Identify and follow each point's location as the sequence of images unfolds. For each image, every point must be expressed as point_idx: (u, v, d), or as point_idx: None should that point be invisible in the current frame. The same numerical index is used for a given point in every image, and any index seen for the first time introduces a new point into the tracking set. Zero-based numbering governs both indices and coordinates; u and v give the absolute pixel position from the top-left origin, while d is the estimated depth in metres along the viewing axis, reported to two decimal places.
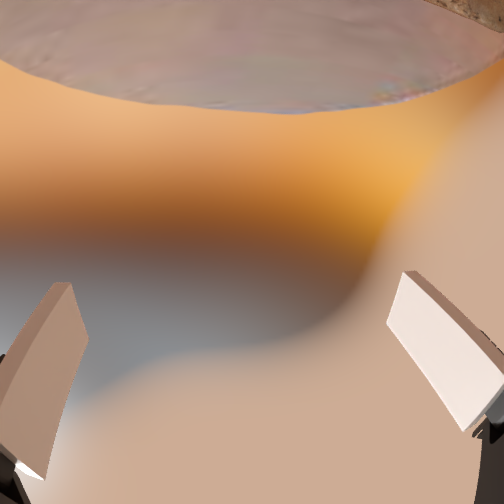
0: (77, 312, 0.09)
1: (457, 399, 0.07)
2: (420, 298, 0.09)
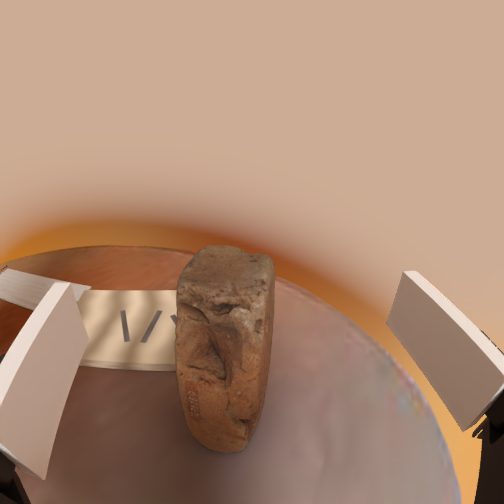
0: (77, 312, 0.09)
1: (457, 399, 0.07)
2: (420, 298, 0.09)
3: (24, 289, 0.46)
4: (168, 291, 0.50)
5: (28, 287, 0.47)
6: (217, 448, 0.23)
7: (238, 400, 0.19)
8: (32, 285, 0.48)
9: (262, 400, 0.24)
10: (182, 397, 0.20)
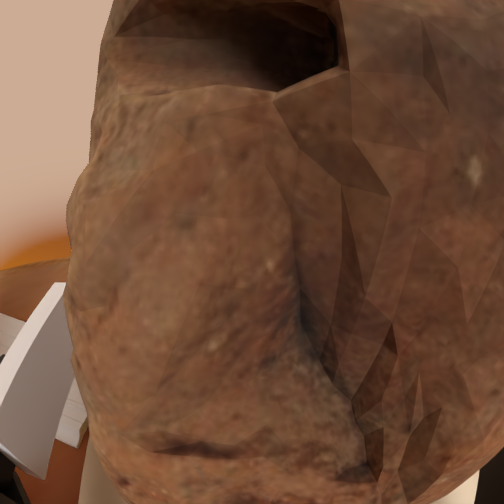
0: None
1: None
2: None
3: None
4: None
5: None
6: None
7: None
8: None
9: None
10: None
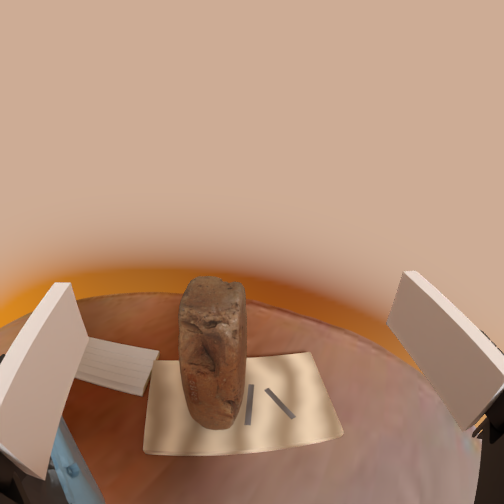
0: (77, 312, 0.09)
1: (457, 399, 0.07)
2: (420, 298, 0.09)
3: None
4: (251, 358, 0.48)
5: None
6: (211, 426, 0.32)
7: (224, 385, 0.29)
8: None
9: (242, 386, 0.33)
10: (185, 386, 0.29)
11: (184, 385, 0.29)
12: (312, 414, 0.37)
